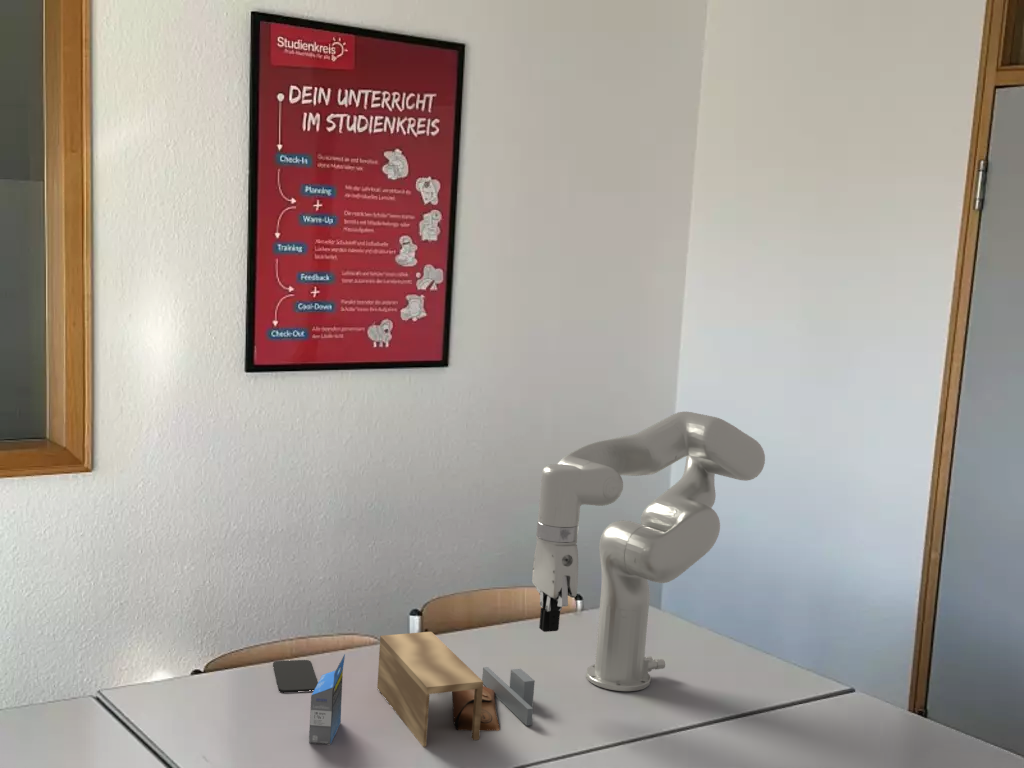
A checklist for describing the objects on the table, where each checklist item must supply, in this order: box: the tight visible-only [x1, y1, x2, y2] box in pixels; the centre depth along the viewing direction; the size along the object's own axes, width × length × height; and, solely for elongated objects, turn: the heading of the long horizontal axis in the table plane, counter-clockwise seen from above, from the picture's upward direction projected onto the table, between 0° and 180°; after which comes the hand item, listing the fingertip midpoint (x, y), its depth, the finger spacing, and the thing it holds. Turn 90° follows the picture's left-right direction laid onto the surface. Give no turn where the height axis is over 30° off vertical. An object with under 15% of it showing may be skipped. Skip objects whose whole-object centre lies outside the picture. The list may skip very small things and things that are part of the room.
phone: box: [272, 659, 319, 694], centre depth 209 cm, size 7×1×15 cm
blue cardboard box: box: [308, 653, 346, 745], centre depth 185 cm, size 9×4×12 cm, turn 178°
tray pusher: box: [481, 666, 536, 727], centre depth 204 cm, size 4×20×5 cm, turn 24°
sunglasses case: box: [451, 685, 501, 732], centre depth 200 cm, size 18×7×7 cm, turn 5°
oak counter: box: [376, 631, 484, 748], centre depth 196 cm, size 10×25×10 cm, turn 24°
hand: (548, 629), depth 205 cm, fingers closed
